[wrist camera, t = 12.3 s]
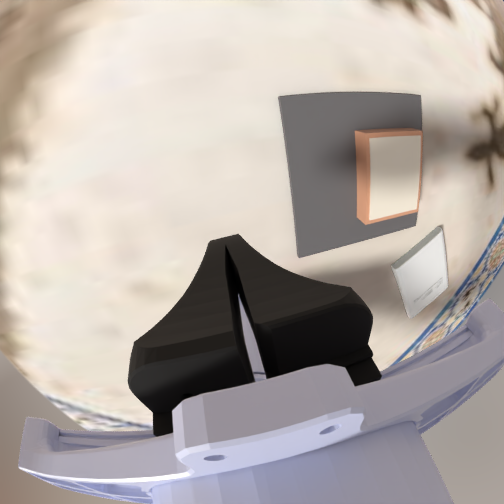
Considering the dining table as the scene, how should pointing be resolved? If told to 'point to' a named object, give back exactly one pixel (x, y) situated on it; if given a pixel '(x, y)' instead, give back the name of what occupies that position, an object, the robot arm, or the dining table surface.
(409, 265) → the external hard drive
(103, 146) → the dining table surface
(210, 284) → the robot arm
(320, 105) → the mat
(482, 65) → the dining table surface
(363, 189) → the terracotta tile
